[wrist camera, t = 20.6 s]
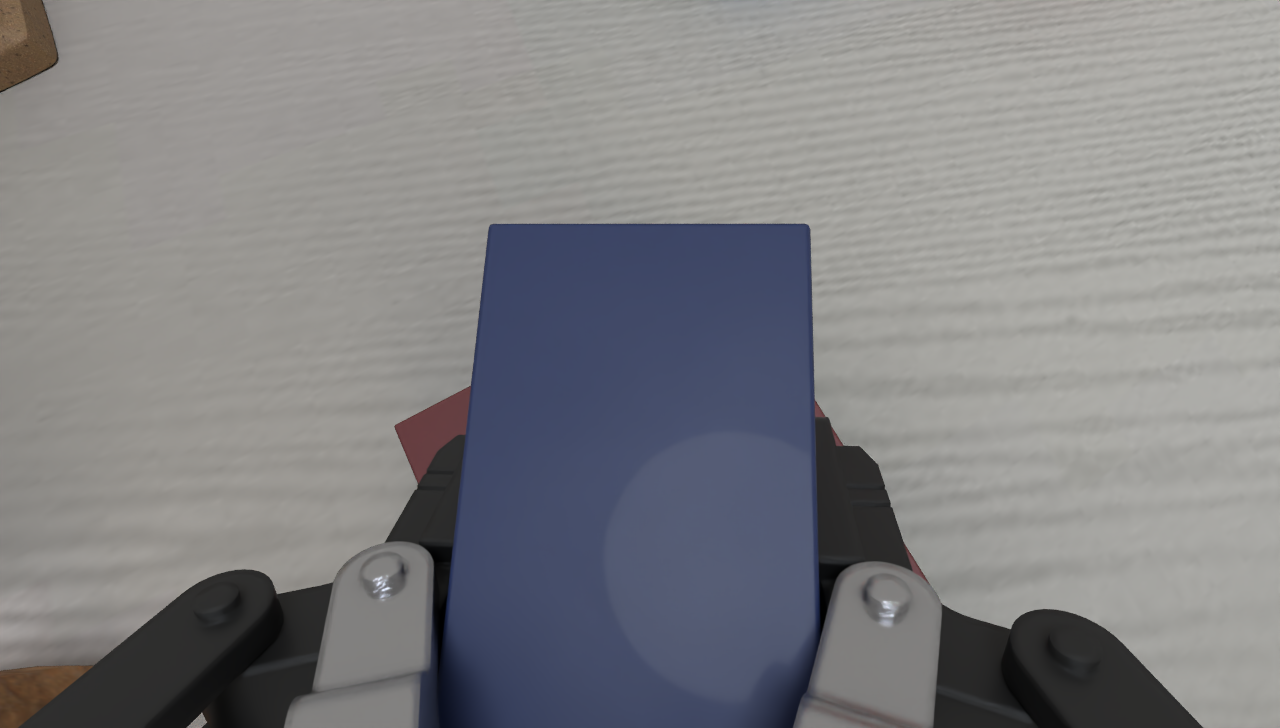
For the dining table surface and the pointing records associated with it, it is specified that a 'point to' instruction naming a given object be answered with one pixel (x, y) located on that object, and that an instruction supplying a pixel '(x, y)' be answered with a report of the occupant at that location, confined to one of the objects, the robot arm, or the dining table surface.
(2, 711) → the bread
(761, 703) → the navy rectangular block
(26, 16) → the candle holder
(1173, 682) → the dining table surface
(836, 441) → the book stack
